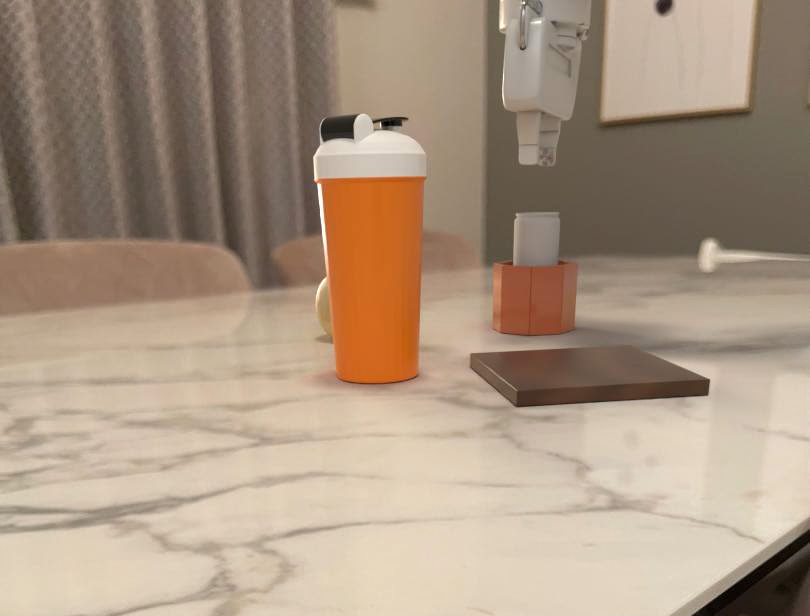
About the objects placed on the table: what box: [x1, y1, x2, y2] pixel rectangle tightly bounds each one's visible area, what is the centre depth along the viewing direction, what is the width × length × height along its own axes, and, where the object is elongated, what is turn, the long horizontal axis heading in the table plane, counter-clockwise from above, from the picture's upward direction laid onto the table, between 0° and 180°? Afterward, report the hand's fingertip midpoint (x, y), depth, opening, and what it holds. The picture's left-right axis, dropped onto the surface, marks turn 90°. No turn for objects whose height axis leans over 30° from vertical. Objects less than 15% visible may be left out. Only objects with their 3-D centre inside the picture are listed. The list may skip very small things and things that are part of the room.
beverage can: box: [512, 211, 561, 266], centre depth 91 cm, size 5×5×12 cm
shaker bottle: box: [312, 113, 428, 384], centre depth 69 cm, size 9×9×20 cm
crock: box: [492, 259, 579, 336], centre depth 92 cm, size 8×8×7 cm
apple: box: [315, 276, 333, 338], centre depth 90 cm, size 8×8×8 cm
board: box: [469, 344, 711, 407], centre depth 69 cm, size 15×15×1 cm
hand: (537, 165), depth 87 cm, fingers open, 8 cm apart
